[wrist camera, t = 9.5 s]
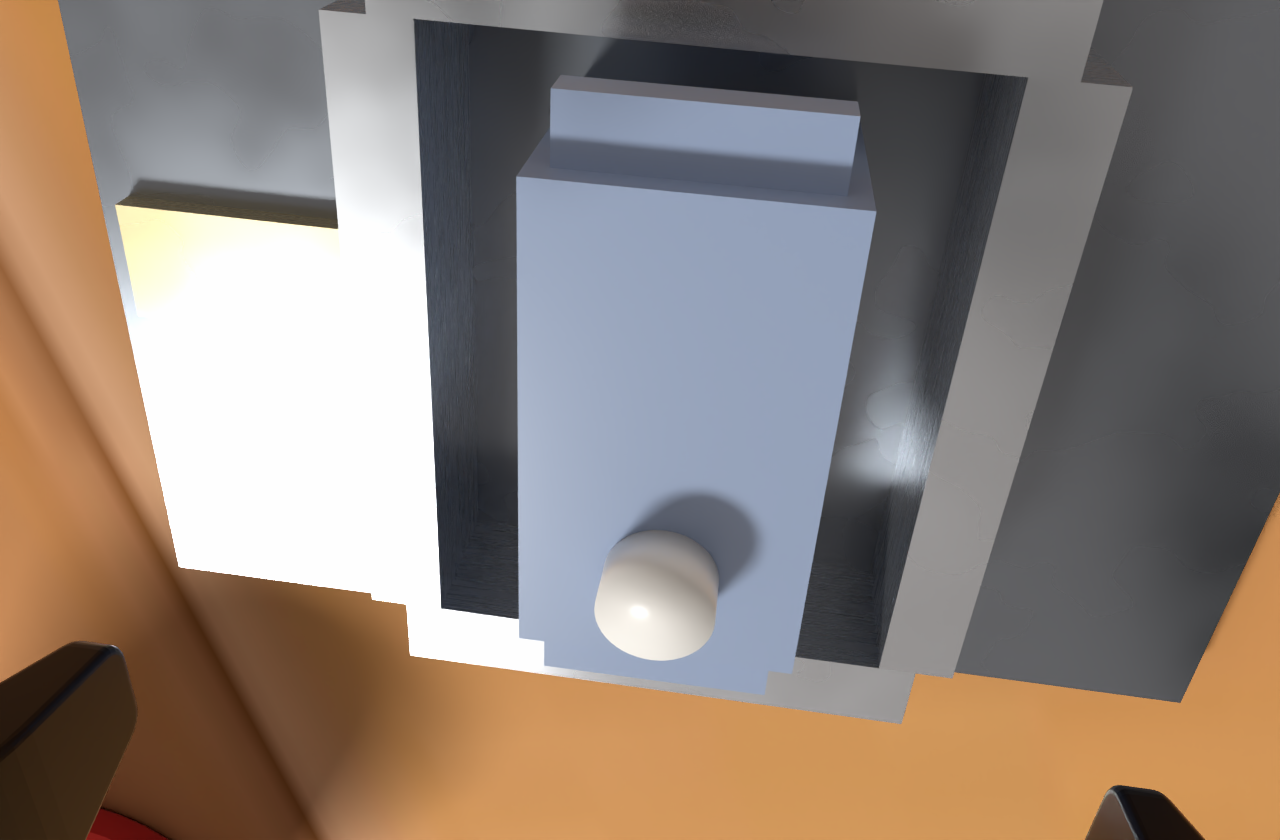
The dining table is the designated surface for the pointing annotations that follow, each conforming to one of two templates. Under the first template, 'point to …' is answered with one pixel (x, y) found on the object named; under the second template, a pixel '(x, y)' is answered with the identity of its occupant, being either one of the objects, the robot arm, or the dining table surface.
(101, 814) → the canned food
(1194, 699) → the dining table surface
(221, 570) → the chassis
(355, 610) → the dining table surface
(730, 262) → the block
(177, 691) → the dining table surface
